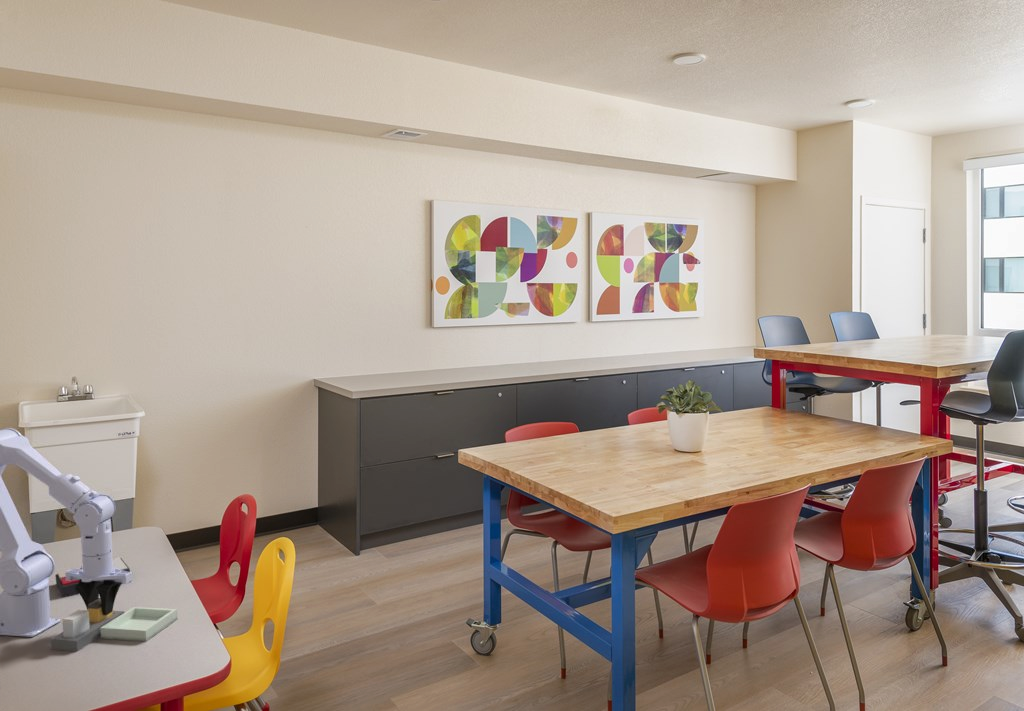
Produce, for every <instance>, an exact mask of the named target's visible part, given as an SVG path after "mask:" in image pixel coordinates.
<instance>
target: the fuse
mask: <svg viewBox="0 0 1024 711" xmlns="http://www.w3.org/2000/svg"><path fill="white" fill-rule="evenodd" d="M61 621H62V632H63V637H65V638H75V637H77V636H78V635H80V634H82V633H83V632H85V631H86V630H88V629H90V625H89V611H88V610H87V609H86V610H85V609H84V610H83V609H78V610H75V611H73V612H72V613H71V614H69V615H67V616H65V617H64V618H62V620H61Z"/></svg>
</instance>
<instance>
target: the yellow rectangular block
mask: <svg viewBox="0 0 1024 711" xmlns="http://www.w3.org/2000/svg"><path fill="white" fill-rule="evenodd" d="M88 611H89V622H92V623H99V622H101V621H103V620H104V619H106V618H108V617H109V616H111V615H113V611H114V610H112V612H111V613H109V614H108V615H103V613H102V606H101V599H100V597H99V599H97V600H95V601H93V602H92V603H90V604H88Z"/></svg>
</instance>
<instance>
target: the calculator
mask: <svg viewBox="0 0 1024 711" xmlns="http://www.w3.org/2000/svg"><path fill="white" fill-rule="evenodd" d="M113 568H116V569H119V570H123V571H127V572H131V570H130V567H129V566H128V565H127V563H126V562H125V561H124V560H123V559H122V558H121V557H115V558H113ZM71 569H83V565H82V566H81V567H78V566H77V567H74V568H70V569H65V570H62V571H58V572H57V574H55V576H54V577H55V583H56V584H55V585H56V586H57V589H58V591H59V593H60V595H61V597H62V598H66V597H71V596H76V595H80V594H79V593H78V592H77V591H76V590H75V585H77V584H79V580H71V581H66V573H65V572H67V571H69V570H71ZM131 582H132V581H130V582H129V583H131ZM102 583H104V581H101V582H100V584H102Z"/></svg>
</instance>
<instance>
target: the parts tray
mask: <svg viewBox="0 0 1024 711" xmlns="http://www.w3.org/2000/svg"><path fill="white" fill-rule="evenodd" d="M177 620H178V608H165V607H163V608H161V607H146V606H133V607H131V608H130V609H128V610H127V611H124V613H123V614H122V615H120V616H118V617H117V618H115V619H114V620H112V621H110V622H109V623H107V624H106V625H104V626H102V627H101V628H100V632H101V637H100V639H102V640H103V639H105V640H118V641H119V640H122V641H135V642H148V641H149V640H150V639H152V638H154V637H155V636H156V635H158V634H159V633H160V632H162V631H163V630H165V629H166V628H167V627H168V626H170V625H172V624H173V623H174V622H176V621H177Z"/></svg>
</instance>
